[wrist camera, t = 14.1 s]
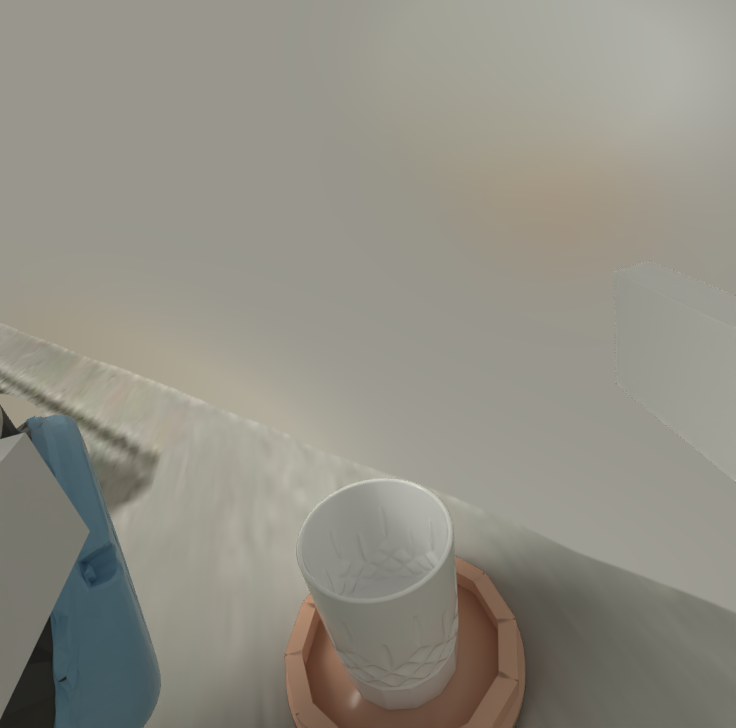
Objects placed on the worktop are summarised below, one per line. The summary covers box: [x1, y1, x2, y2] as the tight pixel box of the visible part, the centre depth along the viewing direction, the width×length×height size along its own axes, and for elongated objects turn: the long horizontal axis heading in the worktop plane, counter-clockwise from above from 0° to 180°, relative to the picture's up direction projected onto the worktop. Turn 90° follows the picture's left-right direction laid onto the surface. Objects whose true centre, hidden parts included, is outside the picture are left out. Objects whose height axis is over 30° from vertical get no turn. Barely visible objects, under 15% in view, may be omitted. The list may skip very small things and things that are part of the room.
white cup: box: [296, 478, 459, 710], centre depth 28 cm, size 8×8×10 cm
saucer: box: [284, 556, 526, 728], centre depth 31 cm, size 14×14×2 cm
